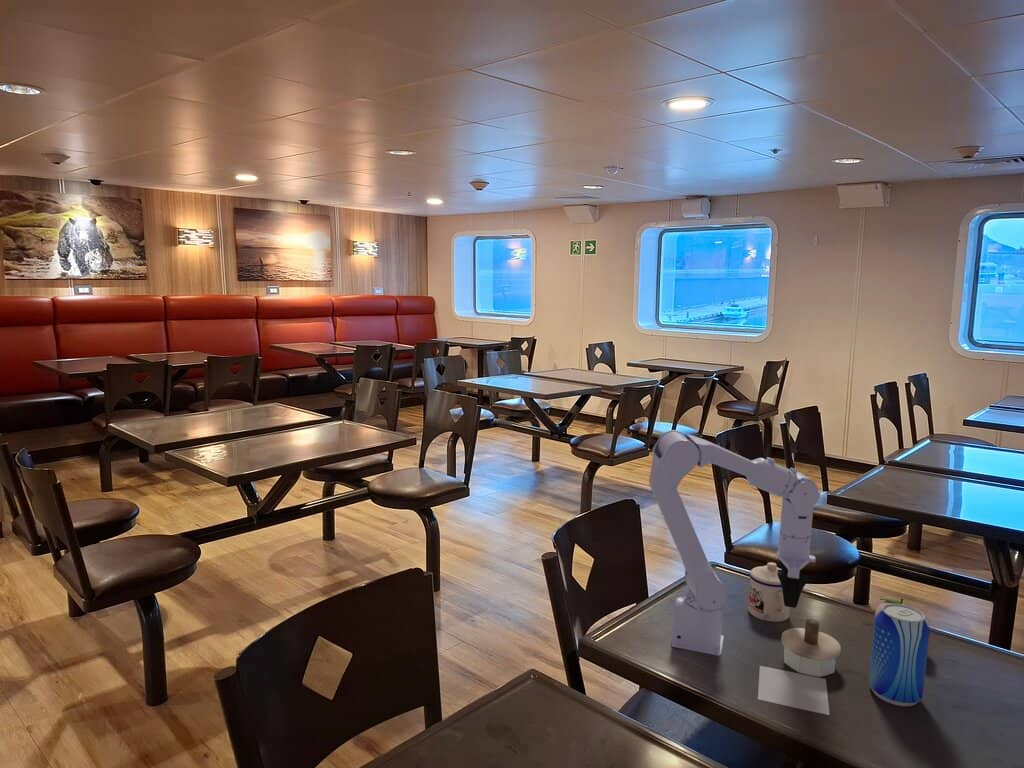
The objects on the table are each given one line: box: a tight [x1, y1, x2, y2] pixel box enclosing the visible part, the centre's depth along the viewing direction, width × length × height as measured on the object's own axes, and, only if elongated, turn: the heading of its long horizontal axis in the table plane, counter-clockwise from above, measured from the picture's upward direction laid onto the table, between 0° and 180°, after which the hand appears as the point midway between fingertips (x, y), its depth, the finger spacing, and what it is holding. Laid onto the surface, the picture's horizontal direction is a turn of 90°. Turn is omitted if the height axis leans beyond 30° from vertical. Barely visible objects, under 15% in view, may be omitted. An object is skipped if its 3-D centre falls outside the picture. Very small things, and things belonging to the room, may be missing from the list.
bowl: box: [783, 646, 837, 678], centre depth 132 cm, size 9×9×4 cm
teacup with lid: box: [747, 562, 791, 623], centre depth 151 cm, size 12×9×12 cm
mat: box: [757, 665, 831, 716], centre depth 124 cm, size 12×12×1 cm
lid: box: [781, 618, 842, 660], centre depth 132 cm, size 10×10×5 cm
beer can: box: [868, 604, 931, 707], centre depth 122 cm, size 8×8×16 cm
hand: (790, 598), depth 138 cm, fingers open, 7 cm apart
